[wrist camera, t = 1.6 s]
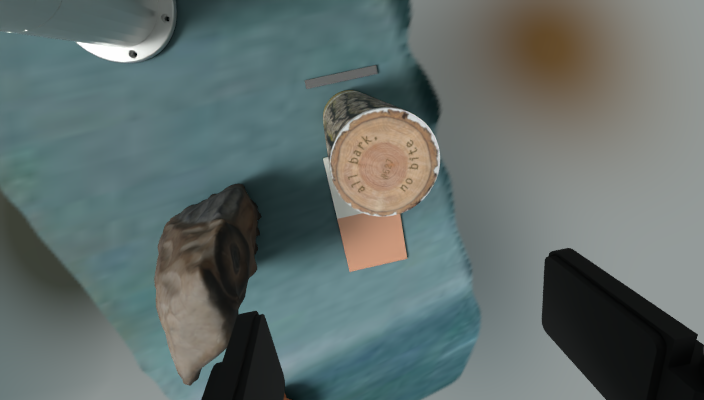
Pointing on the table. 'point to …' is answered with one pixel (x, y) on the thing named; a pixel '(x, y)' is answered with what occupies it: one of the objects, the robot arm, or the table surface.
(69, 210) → the table surface
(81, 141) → the table surface
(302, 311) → the table surface
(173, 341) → the brown owl figurine
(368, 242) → the board
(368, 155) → the birch log
